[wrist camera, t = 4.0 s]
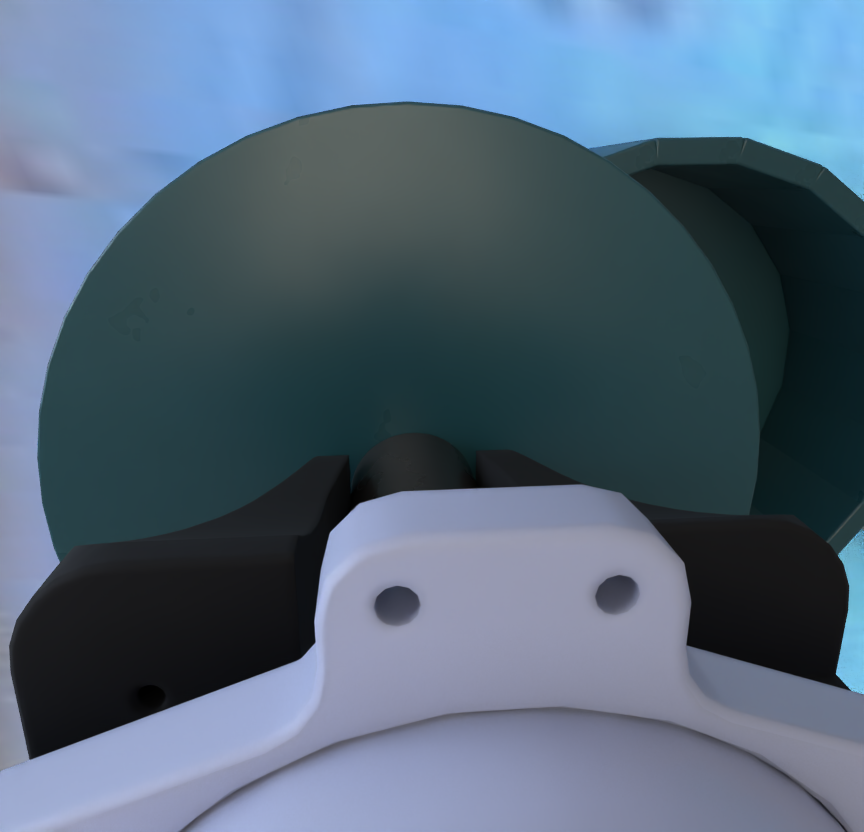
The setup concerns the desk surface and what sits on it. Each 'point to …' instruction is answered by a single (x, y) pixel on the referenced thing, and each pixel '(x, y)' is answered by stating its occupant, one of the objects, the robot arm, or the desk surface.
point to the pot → (781, 307)
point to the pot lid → (393, 329)
